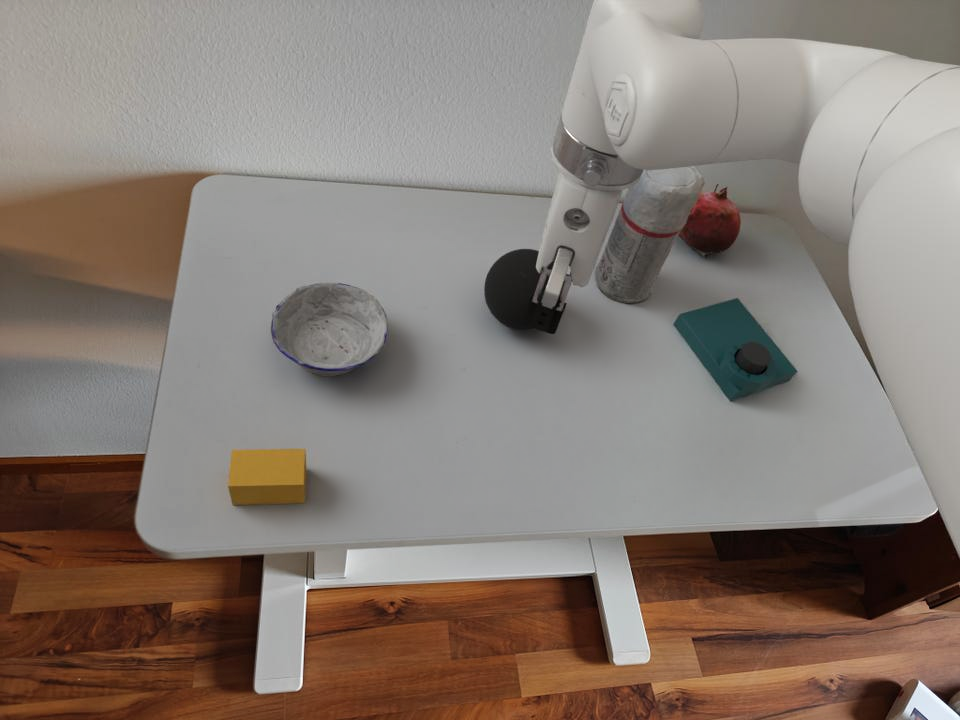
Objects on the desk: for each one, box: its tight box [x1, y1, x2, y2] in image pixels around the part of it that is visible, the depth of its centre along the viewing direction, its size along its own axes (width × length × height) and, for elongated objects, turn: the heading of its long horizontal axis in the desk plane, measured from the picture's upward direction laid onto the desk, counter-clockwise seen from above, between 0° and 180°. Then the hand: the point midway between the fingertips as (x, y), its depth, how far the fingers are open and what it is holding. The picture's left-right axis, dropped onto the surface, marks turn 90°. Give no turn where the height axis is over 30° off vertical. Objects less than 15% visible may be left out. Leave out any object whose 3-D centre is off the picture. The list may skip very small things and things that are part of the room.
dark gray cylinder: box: [736, 342, 771, 375], centre depth 89 cm, size 4×4×2 cm
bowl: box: [270, 282, 389, 377], centre depth 84 cm, size 13×13×5 cm
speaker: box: [483, 248, 565, 332], centre depth 89 cm, size 10×10×10 cm
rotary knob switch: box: [673, 297, 798, 402], centre depth 94 cm, size 14×10×4 cm
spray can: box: [594, 166, 705, 304], centre depth 92 cm, size 8×8×20 cm
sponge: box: [227, 448, 307, 506], centre depth 72 cm, size 7×4×4 cm, turn 96°
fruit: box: [678, 183, 742, 259], centre depth 104 cm, size 9×10×10 cm
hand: (550, 292), depth 70 cm, fingers open, 9 cm apart
